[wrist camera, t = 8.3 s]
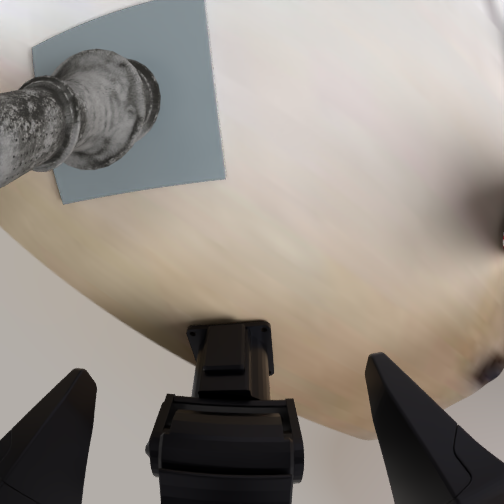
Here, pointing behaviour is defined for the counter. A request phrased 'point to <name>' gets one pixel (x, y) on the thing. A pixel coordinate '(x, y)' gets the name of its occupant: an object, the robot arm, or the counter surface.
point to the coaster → (171, 89)
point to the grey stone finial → (77, 115)
